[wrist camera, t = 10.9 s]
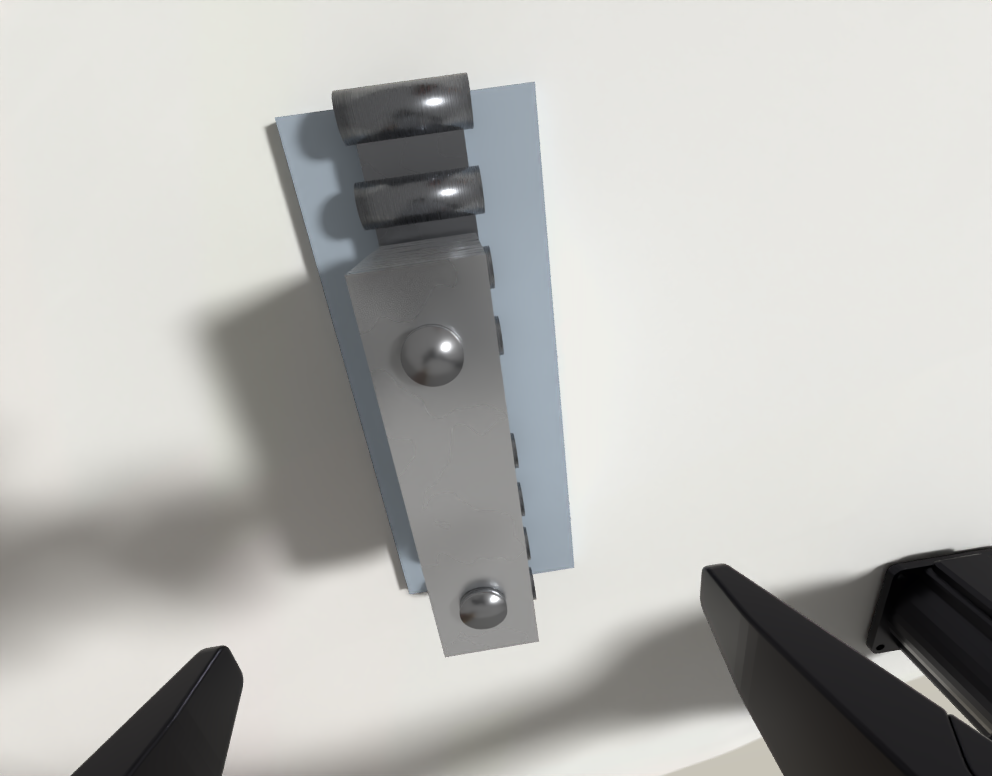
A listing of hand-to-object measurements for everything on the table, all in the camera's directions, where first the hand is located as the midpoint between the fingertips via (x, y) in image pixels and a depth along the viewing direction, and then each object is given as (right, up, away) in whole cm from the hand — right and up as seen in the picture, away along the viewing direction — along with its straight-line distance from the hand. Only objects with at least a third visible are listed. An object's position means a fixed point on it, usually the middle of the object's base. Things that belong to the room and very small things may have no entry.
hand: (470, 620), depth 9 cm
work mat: (-1, +4, +10) cm, 11 cm away
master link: (-1, +4, +8) cm, 9 cm away
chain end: (-2, +10, +7) cm, 12 cm away
